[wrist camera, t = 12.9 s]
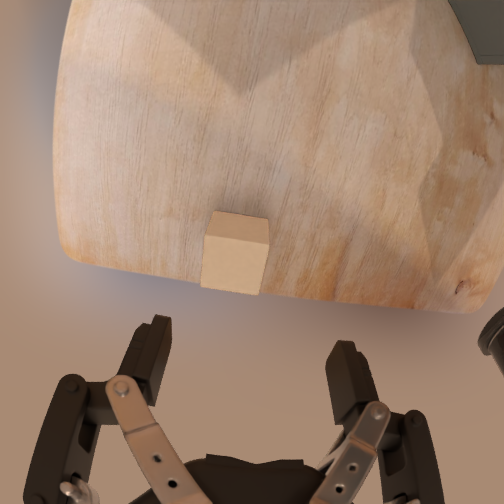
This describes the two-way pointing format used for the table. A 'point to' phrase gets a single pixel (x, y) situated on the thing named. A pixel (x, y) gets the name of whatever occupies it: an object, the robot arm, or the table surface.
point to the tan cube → (235, 253)
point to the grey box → (483, 28)
